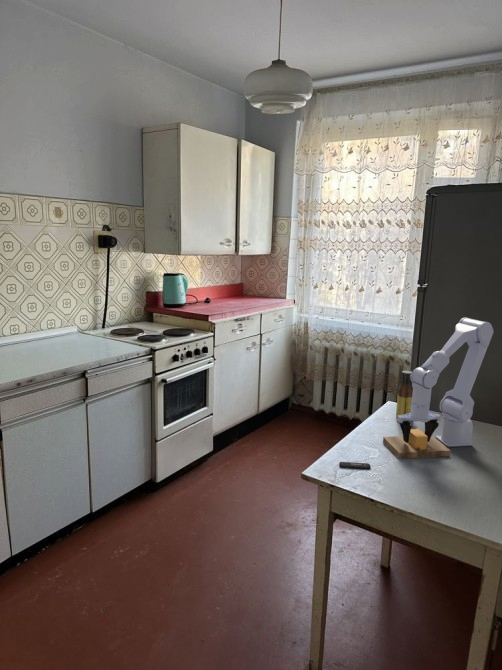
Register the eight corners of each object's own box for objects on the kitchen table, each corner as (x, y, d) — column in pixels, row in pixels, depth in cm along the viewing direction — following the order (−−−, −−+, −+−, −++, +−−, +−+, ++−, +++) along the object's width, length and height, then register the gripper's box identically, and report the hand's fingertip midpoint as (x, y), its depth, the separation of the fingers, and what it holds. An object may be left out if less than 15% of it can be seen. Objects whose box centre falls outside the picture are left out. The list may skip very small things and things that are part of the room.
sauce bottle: (412, 418, 183) (417, 370, 178) (412, 424, 177) (417, 375, 173) (395, 415, 185) (400, 368, 180) (394, 421, 179) (399, 372, 175)
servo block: (414, 443, 161) (416, 427, 160) (428, 455, 152) (430, 438, 151) (403, 443, 160) (405, 427, 159) (417, 455, 152) (419, 439, 150)
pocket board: (430, 440, 164) (430, 434, 163) (449, 455, 152) (450, 450, 152) (382, 442, 161) (383, 436, 160) (398, 458, 149) (399, 453, 149)
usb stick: (339, 469, 142) (340, 464, 142) (338, 464, 145) (339, 460, 144) (370, 471, 142) (371, 466, 141) (369, 466, 144) (369, 462, 144)
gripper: (406, 408, 148) (401, 447, 151) (447, 407, 150) (442, 445, 153) (396, 400, 155) (392, 438, 158) (435, 399, 157) (431, 436, 160)
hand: (416, 441), depth 156 cm, fingers open, 7 cm apart
